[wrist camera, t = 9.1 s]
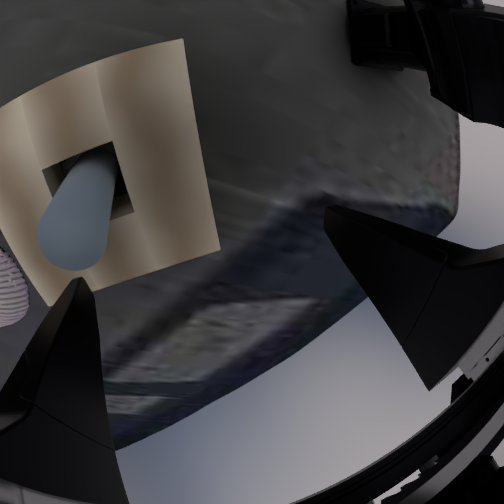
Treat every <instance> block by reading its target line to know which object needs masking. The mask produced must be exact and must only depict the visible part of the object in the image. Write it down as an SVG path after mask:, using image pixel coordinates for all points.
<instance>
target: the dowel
mask: <svg viewBox="0 0 504 504" xmlns="http://www.w3.org/2000/svg"><path fill="white" fill-rule="evenodd" d="M117 173H118V166H117V162H116V160H115V158H114V156H113V155H112V154H111V153H110V152H108V151H107V150H104V149H101V148H94V149H90V150H88V151H86V152H84V153H83V154H82V155H81V156H80V157H79V158H78V160H77V161H76V163H75V164H74V166H73V167H72V169H71V170H70V172H69V173H68V175H67V176H66V178H65V179H64V181H63V182H62V184H61V186H60V187H59V189H58V190H57V192H56V194H55V195H54V197H53V199H52V200H51V202H50V204H49V206H48V207H47V209H46V211H45V213H44V215H43V216H42V218H41V220H40V222H39V225H38V229H37V239H38V244H39V247H40V249H41V251H42V253H43V254H44V256H45V257H46V258H47V259H48V260H49V261H50V262H51V263H52V264H54V265H55V266H57V267H59V268H62V269H65V270H69V271H80V270H85V269H88V268H90V267H92V266H93V265H95V264H96V263H97V262H98V261H99V260H100V259H101V258H102V256H103V254H104V253H105V250H106V246H107V238H108V229H109V222H110V214H111V207H112V201H113V195H114V189H115V183H116V178H117Z"/></svg>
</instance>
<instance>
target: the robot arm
mask: <svg viewBox="0 0 504 504" xmlns="http://www.w3.org/2000/svg"><path fill="white" fill-rule="evenodd" d="M403 1H404V3H405V6H382V5H379V4H375V3H372V2H368V1H365V0H348V1H347V3H348V12H349V22H350V34H351V49H352V62H353V64H354V65H357V66H367V67H376V68H384V69H391V70H398V71H403V70H404V68H410V69H416V70H421V71H425V72H427V74H428V78H429V83H430V87H431V89H430V92H431V96H433V97H434V98H436V99H438V100H439V101H441V102H443V103H444V104H446V105H447V106H449V107H450V108H451V109H453V110H454V111H456V112H458V113H460V114H461V115H462V116H464V117H466V118H468V119H469V120H472V121H473V122H480V123H488V124H492V125H496V126H499V127H502V128H504V7H500V6H494V5H489V4H483V2H482V0H403ZM353 2H354V4H353ZM358 59H359V62H358V61H357V60H358ZM323 226H324V230H325V232H326V234H327V236H328V237H329V239H330V240H331V242H332V244H333V245H334V247H335V249H336V251H337V252H338V254H339V256H340V257H341V259H342V260H343V262H344V263H345V265H346V266H347V268H348V269H349V270H350V272H351V273H352V274H353V276H354V277H355V279H356V280H357V281H358V283H359V284H360V286H361V287H362V288H363V290H364V291H365V293H366V294H367V296H368V297H369V298H370V300H371V301H372V303H373V304H374V306H375V307H376V308H377V310H378V311H379V313H380V314H381V316H382V317H383V319H384V321H385V322H386V324H387V325H388V327H389V328H390V329H391V331H392V333H393V334H394V336H395V337H396V339H397V340H398V342H399V343H400V345H401V346H402V348H403V350H404V352H405V353H406V355H407V356H408V358H409V360H410V361H411V363H412V364H413V366H414V368H415V369H416V371H417V373H418V374H419V376H420V378H421V379H422V381H423V383H424V385H425V386H426V388H427V389H428V391H430V390H431V389H433V388H434V387H435V386H436V385H438V384H439V383H440V382H441V381H442V380H444V379H445V378H446V377H447V376H448V375H449V374H450V373H452V372H453V371H454V370H455V369H456V368H457V367H459V368H460V369H461V371H462V372H463V373H464V374H463V375H462V376H460V377H459V379H458V380H456V381H455V382H454V383H453V384H452V392H451V404H450V405H449V406H448V407H447V408H446V409H445V410H444V411H443V412H442V413H440V414H439V415H438V416H437V417H436V418H435V419H433V420H432V421H431V422H430V423H428V424H427V425H426V426H425V427H424V428H422V429H421V430H420V431H418V432H417V433H416V434H415V435H413V436H412V437H411V438H409V439H408V440H407V441H405V442H404V443H402V444H401V445H399V446H398V447H397V448H395V449H394V450H392V451H391V452H389V453H388V454H386V455H385V456H383V457H381V458H380V459H378V460H377V461H375V462H374V463H372V464H370V465H369V466H367V467H365V468H363V469H362V470H360V471H358V472H357V473H355V474H353V475H351V476H349V477H347V478H346V479H344V480H342V481H340V482H338V483H336V484H334V485H332V486H330V487H328V488H325V489H323V490H321V491H319V492H317V493H314V494H312V495H310V496H308V497H305V498H303V499H300V500H298V501H296V502H293V503H290V504H374V500H373V499H375V498H377V497H378V496H380V495H382V494H383V493H385V492H386V491H388V490H389V489H391V488H392V487H394V486H395V485H397V484H398V483H400V482H401V481H403V480H404V479H405V478H407V477H408V476H410V475H411V474H412V473H414V472H415V471H416V470H418V469H419V470H420V472H421V473H420V474H419V475H418V476H419V478H418V479H416V480H414V481H412V482H410V483H408V484H405V485H404V486H402V487H401V491H400V492H398V493H397V494H394V495H391V496H389V497H386V498H385V499H383V500H381V504H504V466H503V467H499V466H498V465H497V463H496V461H495V460H494V458H493V456H490V455H491V453H492V452H493V451H494V450H495V449H496V448H497V446H498V445H499V444H500V443H501V441H502V440H503V439H504V244H502V245H498V246H495V247H492V248H488V249H480V250H479V249H472V248H469V247H466V246H463V245H460V244H456V243H453V242H450V241H447V240H443V239H441V238H438V237H435V236H432V235H429V234H426V233H423V232H420V231H417V230H414V229H412V228H409V227H406V226H403V225H400V224H397V223H394V222H391V221H388V220H385V219H382V218H379V217H375V216H372V215H369V214H366V213H363V212H359V211H356V210H353V209H349V208H346V207H343V206H339V205H331V206H327V207H326V208H325V211H324V224H323ZM0 504H129V501H128V498H127V495H126V491H125V489H124V485H123V482H122V478H121V474H120V471H119V467H118V463H117V458H116V455H115V451H114V446H113V441H112V436H111V431H110V426H109V420H108V414H107V408H106V401H105V393H104V385H103V376H102V365H101V352H100V337H99V329H98V322H97V315H96V306H95V298H94V295H93V293H92V291H91V289H90V287H89V286H88V284H87V282H86V281H85V279H84V278H83V277H77V278H74V279H72V280H71V281H70V283H69V284H68V285H67V287H66V288H65V289H64V291H63V292H62V294H61V295H60V296H59V298H58V299H57V301H56V302H55V304H54V305H53V306H52V308H51V309H50V311H49V312H48V314H47V315H46V317H45V318H44V320H43V321H42V323H41V324H40V326H39V328H38V329H37V331H36V332H35V334H34V335H33V337H32V339H31V340H30V342H29V344H28V345H27V347H26V349H25V351H24V352H23V354H22V356H21V357H20V359H19V361H18V363H17V364H16V366H15V368H14V369H13V371H12V373H11V374H10V376H9V378H8V379H7V381H6V383H5V384H4V386H3V388H2V389H1V391H0Z"/></svg>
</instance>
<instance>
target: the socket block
mask: <svg viewBox="0 0 504 504" xmlns="http://www.w3.org/2000/svg"><path fill="white" fill-rule="evenodd" d="M111 141H113V144H114V148H115V151H116V155H117V158H118V162H119V165H120V168H121V172H122V175H123V178H124V181H125V184H126V188H127V191H128V193H126V194H123V195H120V196H117V197H114V198H113V201H112V207H111V214H110V222H109V229H108V238H107V246H106V250H105V253H104V254H103V256H102V258H101V259H100V260H99V261H98V262H97V263H96V264H95V265H93V266H92V267H90V268H88V269H85V270H80V271H69V270H65V269H62V268H59V267H57V266H55V265H54V264H52V263H51V262H50V261H49V260H48V259H47V258H46V257H45V256H44V254H43V253H42V251H41V249H40V247H39V244H38V239H37V229H38V225H39V222H40V220H41V218H42V216H43V215H44V213H45V211H46V209H47V207H48V206H49V204H50V202H51V200H52V199H53V197H54V195H55V194H56V192H57V190H58V189H59V187H60V186H61V184H62V182H63V181H64V179H65V177H64V174H63V171H62V169H61V166H60V163H59V162H60V161H63V160H65V159H67V158H69V157H72V156H74V155H77V154H79V153H82V152H84V151H87V150H89V149H92V148H94V147H97V146H100V145H102V144H105V143H108V142H111ZM0 229H1V231H2V233H3V235H4V237H5V238H6V240H7V242H8V244H9V246H10V248H11V249H12V251H13V253H14V255H15V256H16V258H17V260H18V261H19V263H20V265H21V266H22V268H23V270H24V271H25V273H26V274H27V276H28V277H29V279H30V280H31V282H32V283H33V285H34V286H35V288H36V289H37V291H38V292H39V294H40V295H41V297H42V298H43V299H44V301H45V302H46V303H47V305H48V306H52V305H54V304H55V302H56V301H57V299H58V298H59V296H60V295H61V294H62V292H63V291H64V289H65V288H66V287H67V285H68V284H69V283H70V281H71V280H72V279H74V278H77V277H83V278H84V279H85V281H86V282H87V284H88V286H89V287H90V289H91V291H92V292H93V291H96V290H99V289H102V288H105V287H108V286H111V285H114V284H117V283H120V282H123V281H126V280H129V279H132V278H135V277H138V276H141V275H144V274H147V273H150V272H153V271H156V270H159V269H163V268H166V267H169V266H172V265H175V264H178V263H181V262H184V261H187V260H190V259H193V258H196V257H200V256H203V255H206V254H209V253H212V252H215V251H218V250H221V249H220V244H219V239H218V235H217V230H216V225H215V220H214V215H213V210H212V205H211V200H210V195H209V190H208V185H207V179H206V174H205V169H204V163H203V158H202V152H201V147H200V141H199V136H198V130H197V124H196V118H195V113H194V107H193V101H192V94H191V88H190V82H189V75H188V69H187V62H186V56H185V49H184V42H183V39H178V40H173V41H168V42H163V43H159V44H154V45H150V46H146V47H142V48H138V49H134V50H131V51H127V52H124V53H120V54H117V55H114V56H111V57H108V58H105V59H102V60H99V61H96V62H93V63H90V64H88V65H85V66H83V67H80V68H78V69H75V70H73V71H70V72H68V73H66V74H63V75H61V76H59V77H57V78H54V79H52V80H50V81H48V82H46V83H44V84H42V85H40V86H38V87H36V88H34V89H32V90H30V91H29V92H27V93H25V94H23V95H21V96H19V97H18V98H16V99H14V100H13V101H11V102H9V103H8V104H6V105H4V106H3V107H1V108H0Z"/></svg>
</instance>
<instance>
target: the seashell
mask: <svg viewBox="0 0 504 504" xmlns="http://www.w3.org/2000/svg"><path fill="white" fill-rule="evenodd" d="M8 255H9V254H8V253H6V252H3V250H2V249H1V248H0V328H1V327H2V326H6V325H10V324H13V323H15V322H17V321H18V320H20V319H21V318H22V317H23V316H24V315H25V314H26V311H27V310H28V306H29V303H28V302H29V299H28V296H29V294H28V292H27V290H28V287H27V284H25V279H23V278H22V277H23V275H22V273H20V269H19V268H18V267H17V264H16V263H14V262H12V261H13V259H12V258H11V257H8Z"/></svg>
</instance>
